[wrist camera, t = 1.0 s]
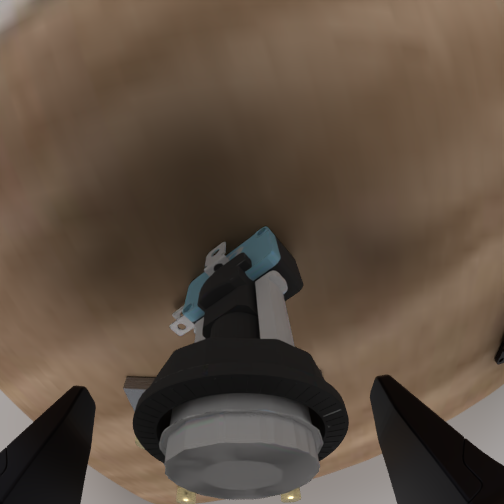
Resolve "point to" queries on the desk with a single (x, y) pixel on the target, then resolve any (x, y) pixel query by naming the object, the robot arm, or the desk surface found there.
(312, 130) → the desk surface
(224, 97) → the desk surface
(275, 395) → the push button
